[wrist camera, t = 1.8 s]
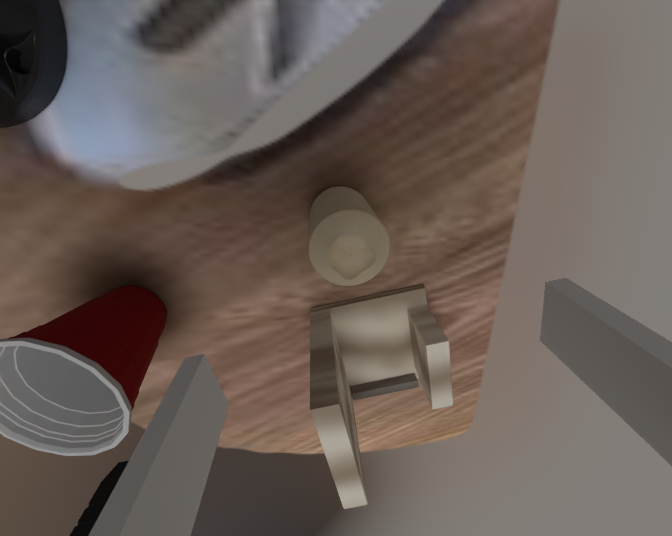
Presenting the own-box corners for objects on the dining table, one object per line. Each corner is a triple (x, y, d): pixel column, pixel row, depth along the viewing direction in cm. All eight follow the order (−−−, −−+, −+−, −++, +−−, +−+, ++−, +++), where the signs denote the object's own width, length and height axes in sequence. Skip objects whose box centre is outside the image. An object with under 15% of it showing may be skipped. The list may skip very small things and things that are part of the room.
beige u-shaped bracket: (309, 308, 33) (308, 410, 21) (422, 284, 32) (484, 374, 21) (333, 390, 38) (342, 509, 26) (431, 370, 37) (484, 481, 26)
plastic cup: (50, 278, 29) (-104, 369, 18) (158, 248, 29) (66, 323, 18) (114, 364, 34) (21, 477, 23) (209, 339, 33) (159, 443, 23)
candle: (374, 189, 28) (404, 221, 19) (363, 246, 30) (385, 299, 21) (312, 181, 27) (313, 210, 18) (306, 240, 30) (304, 292, 20)
